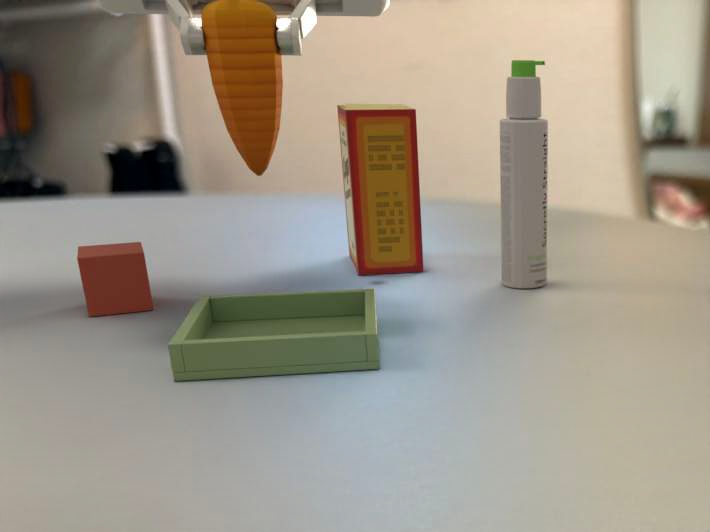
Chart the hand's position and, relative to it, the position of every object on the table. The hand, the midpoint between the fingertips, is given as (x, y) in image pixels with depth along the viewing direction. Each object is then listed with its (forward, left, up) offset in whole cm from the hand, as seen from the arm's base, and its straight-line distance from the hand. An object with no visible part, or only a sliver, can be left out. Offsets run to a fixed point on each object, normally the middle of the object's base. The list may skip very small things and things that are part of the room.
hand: (243, 48), depth 57 cm
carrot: (0, +1, -9) cm, 9 cm away
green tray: (+1, -1, -21) cm, 21 cm away
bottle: (+22, +15, -21) cm, 34 cm away
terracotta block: (-14, +13, -21) cm, 28 cm away
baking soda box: (+9, +26, -21) cm, 34 cm away
